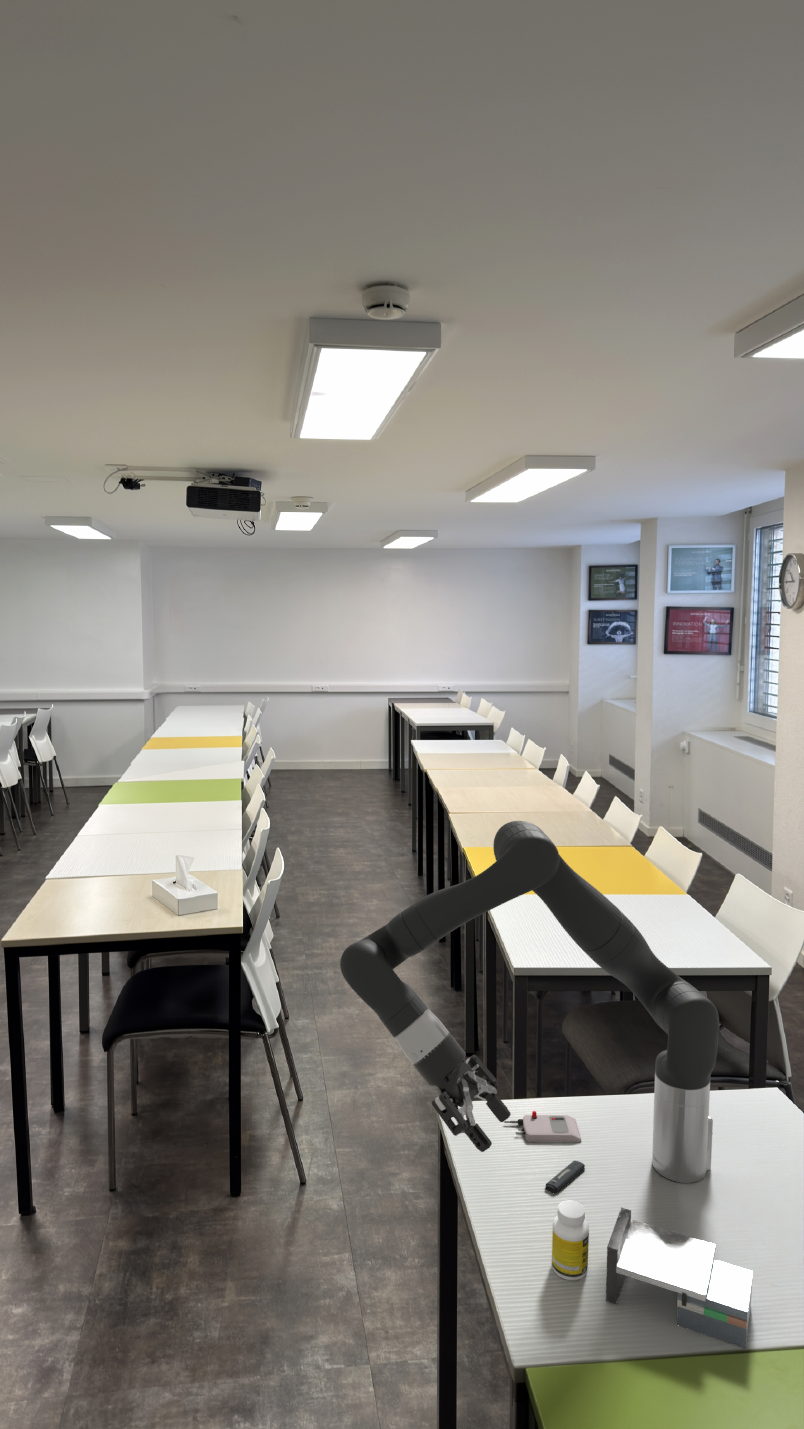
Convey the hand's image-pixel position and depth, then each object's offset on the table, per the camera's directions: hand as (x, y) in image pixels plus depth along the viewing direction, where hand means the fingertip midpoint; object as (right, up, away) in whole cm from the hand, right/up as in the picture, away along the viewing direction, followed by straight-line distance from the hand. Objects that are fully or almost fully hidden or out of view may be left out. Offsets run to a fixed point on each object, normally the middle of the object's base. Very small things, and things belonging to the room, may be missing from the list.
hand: (497, 1133), depth 137 cm
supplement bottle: (+11, -19, -2) cm, 22 cm away
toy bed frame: (+23, -19, -8) cm, 31 cm away
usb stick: (+14, -17, +18) cm, 28 cm away
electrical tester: (+13, -15, +32) cm, 38 cm away
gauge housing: (+29, -20, -12) cm, 38 cm away
